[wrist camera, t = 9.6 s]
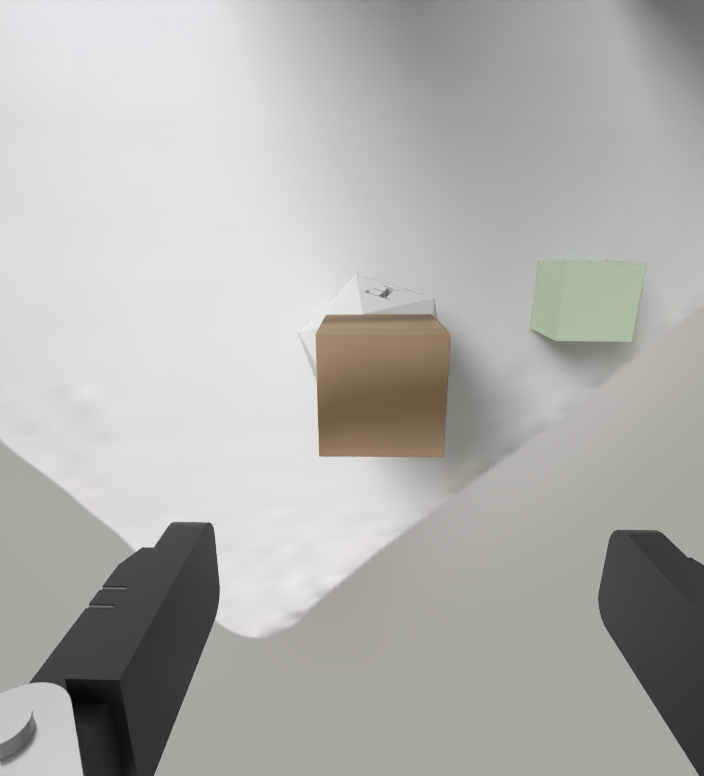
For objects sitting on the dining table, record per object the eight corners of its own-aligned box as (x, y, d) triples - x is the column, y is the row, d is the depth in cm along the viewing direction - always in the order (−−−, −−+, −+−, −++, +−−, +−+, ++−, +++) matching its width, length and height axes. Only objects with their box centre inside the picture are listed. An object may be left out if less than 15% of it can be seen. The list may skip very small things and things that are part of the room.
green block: (537, 260, 31) (566, 262, 26) (606, 260, 31) (646, 263, 26) (529, 328, 32) (555, 341, 28) (595, 328, 32) (632, 341, 28)
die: (460, 344, 33) (468, 267, 24) (413, 455, 31) (403, 416, 22) (356, 310, 35) (329, 228, 26) (307, 410, 33) (259, 359, 24)
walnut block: (326, 314, 24) (315, 334, 19) (431, 314, 24) (450, 333, 19) (328, 413, 26) (319, 456, 21) (427, 413, 26) (443, 456, 21)
